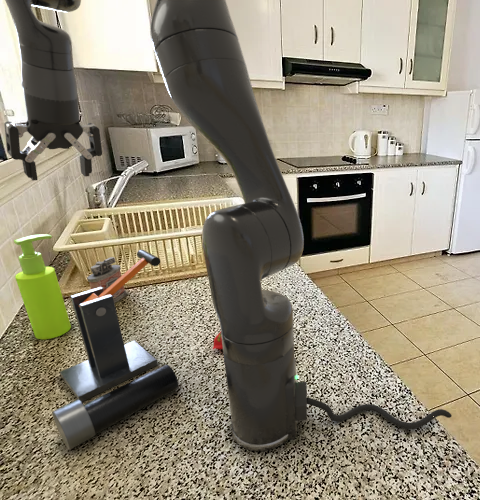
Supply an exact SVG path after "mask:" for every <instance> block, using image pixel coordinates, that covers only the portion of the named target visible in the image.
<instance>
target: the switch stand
mask: <svg viewBox="0 0 480 500" xmlns="http://www.w3.org/2000/svg"><path fill="white" fill-rule="evenodd" d="M103 292H104V291H103V288H102V287H98V288H95V289H92V290H91V289H88V290H85V291H82V292H79V293H75V294H73V295H70V300H71V304H72V308H73V312H74V314H75V318H76V321H77V326H78V329H79V332H80V336H81V339H82V343H83V346H84V350H85V353H86V357H87V360H84V361H82V362H80V363H78V364H75V365H73V366H71V367H70V366H69V367H68V368H65V369H63V370H61V371H59V374H60V377H61V379H62V380H63V382H64V383H65V384H66V386H67V387H68V388H69V390H70V391H71V392H72V394H73V395H74V397H75V398H76V400H77V399H79V400H80V401H81V402H82V403H83V402H86V401H87V400H89V399H91V398H93V397H95V396H97V395H99V394H101V393H103V392H106V391H108V390H109V389H112V388H113V387H115V386H118V385H120V384H121V383H125V382H126V381H128V380H130V379H132V378H135V377H136V376H138V375H140V374H142V373H144V372H146V371H148V370H150V369H152V368H154V367H156V366H158V361H157V358H155V357H154V356H153V355H152V354H151V353H149V351H148V350H146V349H145V348H144V347H143V346H141V345H140V344H139V343H138V342H137V341H136V339H135V340H132V341H129V342H127V343H125V342H124V338H123V334H122V330H121V326H120V322H119V316H118V313H117V310H116V309H117V308H116V304H115V303H114V299H113V296H112V295H111V294H109V295H106V296H103V297H100V298H97V299H94V300H91V301H88V302H85V303H82V302H84V301H85V300H86V299H87V298H88V297H89V296H91V295H92V294H93V293H94V294H95V295H97V296H99V295H100V294H101V293H103ZM81 303H82V304H81ZM79 306H80V307H79Z"/></svg>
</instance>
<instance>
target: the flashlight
mask: <svg viewBox="0 0 480 500" xmlns="http://www.w3.org/2000/svg"><path fill="white" fill-rule="evenodd" d="M178 380H179V379H178V377H177V375H176V373H175V371H174V370H173V368H172V367H171V366H170V365H169V364H167V363H166V364H164V365H162V366H160V367H158V368H156V369H153V370H151V371H148V373H145V374H144V375H141V376H139V377H137V378H135V379H134V380H131V381H129V382H127V383H126V384H125V383H124V384H123V385H121V386H119V387H117V388H115V389H113V390H111V391H109V392H107V393H105V394H103V395H101V396H99V397H97V398H95V399H93V400H91V401H89V402H87V403H85V404H84V403H83V402H81V401H80V400H79V399H77V398H76V399H75V400H74V401H71V402H69V403H67V404H65V405H63V406H61V407H59V408H56V409H54V410H53V411H52V412H51V413H52V418H53V421H54V423H55V427H56V429H57V431H58V434H59V435H60V439H61V440H62V442H63V444H64V446H65V447H66V449H67V450H68V451H70V450H73V449H74V448H76V447H77V446H80V445H81V444H83V443H85V442H87V441H88V440H91V439H92V438H93V437H95V436H96V435H97V434H99V433H100V432H103V431H104V430H106V429H108V428H109V427H111V426H113V425H115V424H117V423H118V422H120V421H122V420H123V419H126V418H127V417H129V416H131V415H133V414H135V413H137V412H138V411H140V410H142V409H143V408H145V407H147V406H149V405H150V404H153V403H155V402H156V401H158V400H159V399H162V398H163V397H165V396H168V394H171V393H172V392H174V391H176V390H177V389H178V388H179V381H178Z"/></svg>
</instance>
